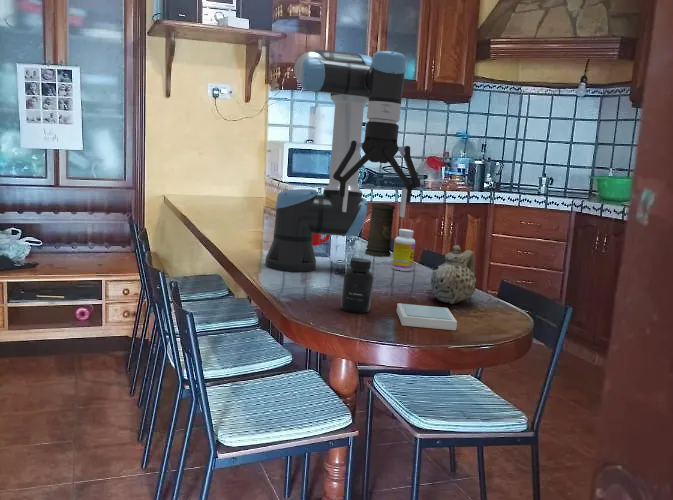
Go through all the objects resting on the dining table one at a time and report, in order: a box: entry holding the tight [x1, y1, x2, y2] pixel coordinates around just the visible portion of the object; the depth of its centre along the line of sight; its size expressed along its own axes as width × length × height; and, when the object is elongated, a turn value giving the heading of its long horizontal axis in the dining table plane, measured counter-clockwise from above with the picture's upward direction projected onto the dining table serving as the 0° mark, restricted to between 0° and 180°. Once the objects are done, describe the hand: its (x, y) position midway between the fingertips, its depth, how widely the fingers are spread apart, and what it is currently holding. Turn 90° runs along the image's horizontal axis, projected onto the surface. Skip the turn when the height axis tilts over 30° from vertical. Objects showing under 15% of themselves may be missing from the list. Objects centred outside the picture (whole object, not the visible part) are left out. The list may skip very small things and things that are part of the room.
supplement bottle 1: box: [340, 257, 374, 314], centre depth 153 cm, size 7×7×12 cm
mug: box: [312, 234, 331, 246], centre depth 244 cm, size 8×12×8 cm, turn 116°
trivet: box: [396, 302, 458, 331], centre depth 150 cm, size 12×12×2 cm
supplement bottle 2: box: [391, 228, 416, 272], centre depth 209 cm, size 7×7×13 cm
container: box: [364, 203, 396, 257], centre depth 233 cm, size 9×9×18 cm
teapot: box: [430, 244, 477, 305], centre depth 171 cm, size 21×12×15 cm, turn 148°
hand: (373, 214), depth 153 cm, fingers open, 13 cm apart
